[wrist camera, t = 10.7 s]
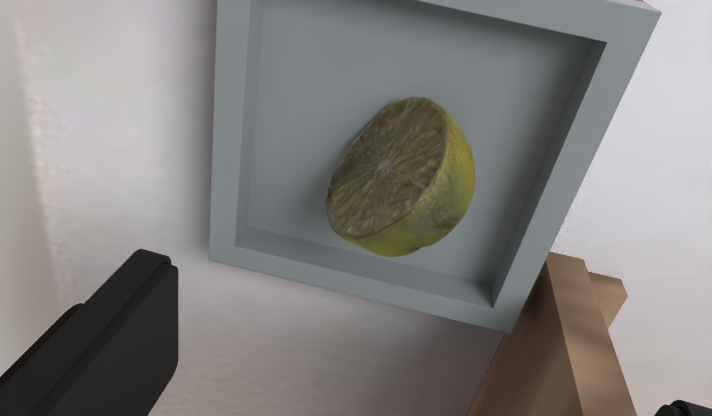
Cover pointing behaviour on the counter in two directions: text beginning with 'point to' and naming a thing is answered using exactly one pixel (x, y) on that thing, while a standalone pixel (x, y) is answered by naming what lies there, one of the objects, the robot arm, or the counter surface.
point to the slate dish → (398, 82)
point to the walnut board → (560, 349)
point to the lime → (402, 180)
